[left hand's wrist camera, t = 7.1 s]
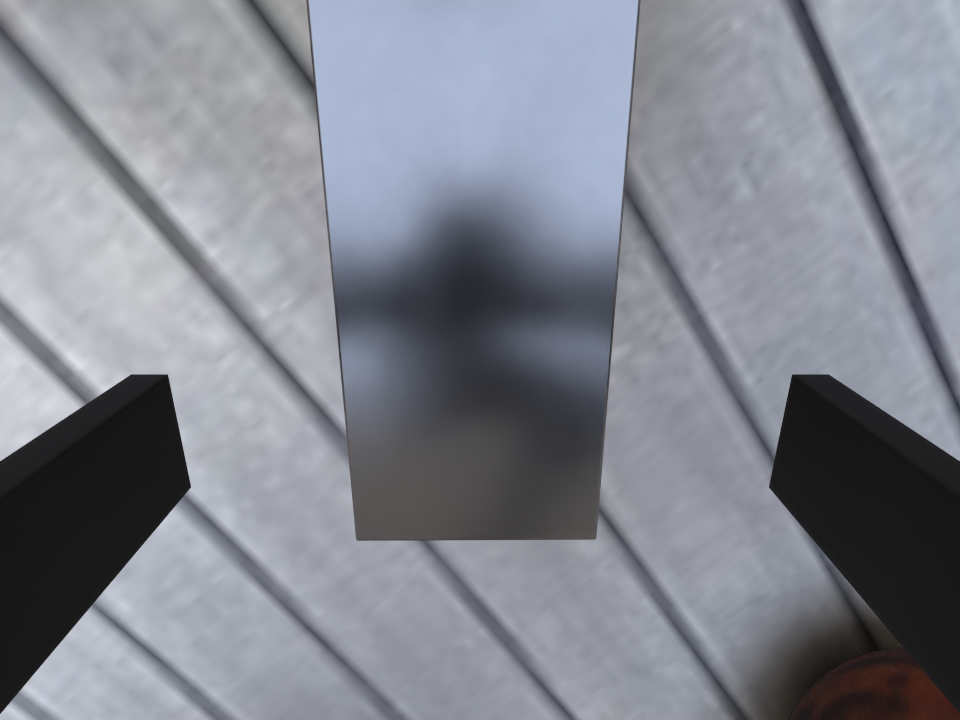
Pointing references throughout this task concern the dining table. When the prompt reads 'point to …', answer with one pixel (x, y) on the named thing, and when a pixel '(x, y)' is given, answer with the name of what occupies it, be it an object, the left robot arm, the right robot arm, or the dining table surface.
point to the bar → (474, 255)
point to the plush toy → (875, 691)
